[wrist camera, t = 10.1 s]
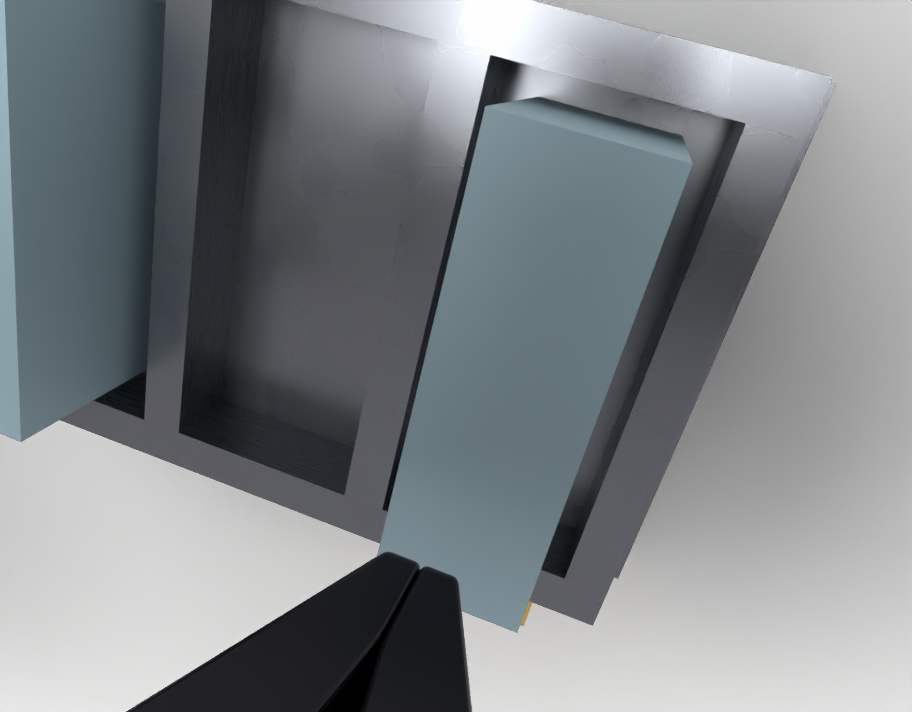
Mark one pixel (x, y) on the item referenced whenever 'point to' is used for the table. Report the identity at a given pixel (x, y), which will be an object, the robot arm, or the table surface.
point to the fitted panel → (75, 201)
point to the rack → (420, 243)
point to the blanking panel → (527, 340)
